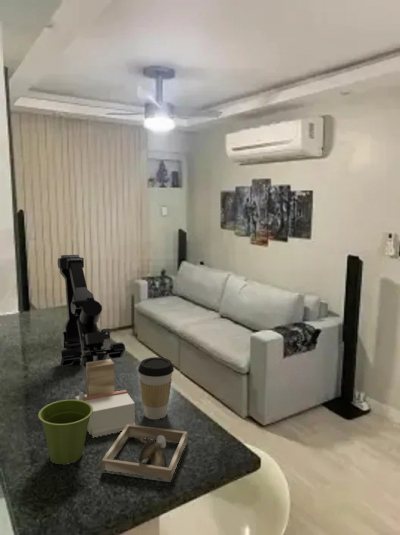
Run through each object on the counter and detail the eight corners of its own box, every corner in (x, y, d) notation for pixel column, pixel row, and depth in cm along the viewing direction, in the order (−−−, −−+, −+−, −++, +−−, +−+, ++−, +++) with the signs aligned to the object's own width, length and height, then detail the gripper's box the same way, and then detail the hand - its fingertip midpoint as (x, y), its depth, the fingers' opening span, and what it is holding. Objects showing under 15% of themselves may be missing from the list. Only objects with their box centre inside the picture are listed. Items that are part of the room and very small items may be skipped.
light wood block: (86, 401, 121) (85, 361, 119) (110, 397, 124) (109, 358, 122) (89, 408, 117) (89, 367, 115) (114, 403, 120) (114, 363, 118)
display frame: (127, 435, 107) (127, 424, 106) (187, 443, 104) (187, 431, 104) (101, 472, 92) (101, 460, 91) (170, 483, 89) (171, 470, 88)
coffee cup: (178, 409, 121) (179, 359, 119) (164, 425, 112) (165, 372, 110) (147, 403, 124) (147, 354, 122) (131, 418, 115) (131, 366, 113)
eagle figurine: (128, 451, 98) (130, 468, 89) (144, 424, 99) (148, 438, 90) (155, 466, 99) (160, 484, 90) (171, 439, 100) (178, 454, 92)
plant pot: (64, 479, 89) (62, 430, 88) (28, 460, 95) (26, 414, 94) (104, 452, 99) (103, 407, 98) (69, 437, 105) (68, 394, 104)
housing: (73, 400, 125) (73, 380, 124) (113, 393, 130) (113, 373, 129) (91, 438, 105) (90, 414, 104) (137, 428, 110) (137, 405, 109)
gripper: (60, 323, 120) (67, 374, 112) (123, 316, 128) (135, 363, 120) (56, 341, 128) (63, 390, 120) (116, 334, 136) (126, 379, 128)
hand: (97, 380), depth 122 cm, fingers closed
